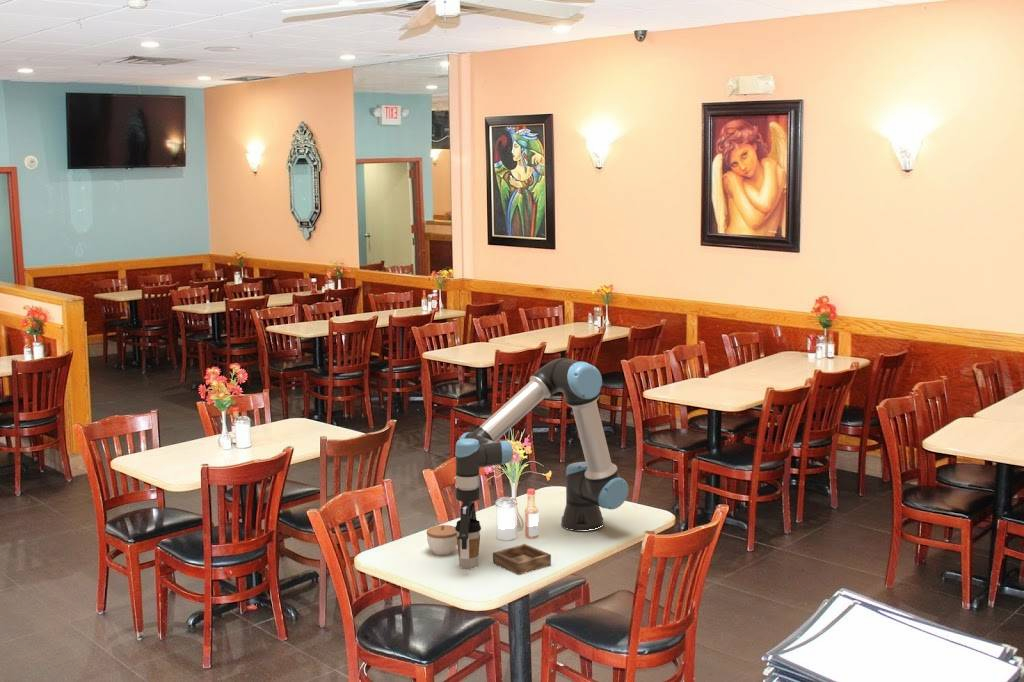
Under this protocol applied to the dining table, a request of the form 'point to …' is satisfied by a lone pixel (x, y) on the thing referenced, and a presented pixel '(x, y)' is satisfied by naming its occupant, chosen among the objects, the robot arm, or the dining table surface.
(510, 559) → the square brown tray
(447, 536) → the lidded jar
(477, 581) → the dining table surface
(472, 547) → the coffee cup
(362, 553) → the dining table surface
